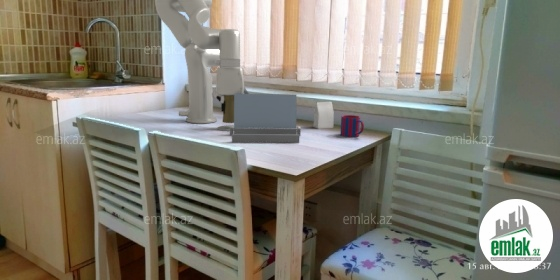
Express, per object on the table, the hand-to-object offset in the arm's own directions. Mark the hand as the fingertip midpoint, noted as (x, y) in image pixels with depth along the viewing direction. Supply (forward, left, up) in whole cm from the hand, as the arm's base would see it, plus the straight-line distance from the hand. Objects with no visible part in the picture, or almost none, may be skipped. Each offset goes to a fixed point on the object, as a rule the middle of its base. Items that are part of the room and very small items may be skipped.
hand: (230, 113), depth 155 cm
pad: (0, 0, -6) cm, 6 cm away
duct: (+13, -17, -6) cm, 22 cm away
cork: (0, 0, -3) cm, 3 cm away
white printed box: (+36, +4, -6) cm, 37 cm away
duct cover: (+13, -9, +2) cm, 16 cm away
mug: (+44, -12, -6) cm, 46 cm away
